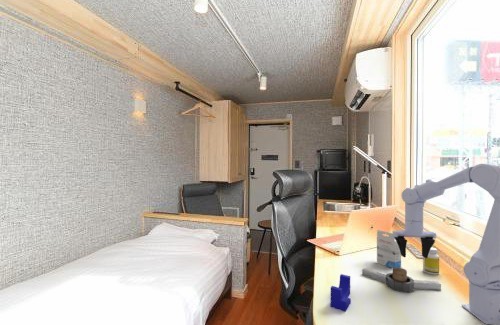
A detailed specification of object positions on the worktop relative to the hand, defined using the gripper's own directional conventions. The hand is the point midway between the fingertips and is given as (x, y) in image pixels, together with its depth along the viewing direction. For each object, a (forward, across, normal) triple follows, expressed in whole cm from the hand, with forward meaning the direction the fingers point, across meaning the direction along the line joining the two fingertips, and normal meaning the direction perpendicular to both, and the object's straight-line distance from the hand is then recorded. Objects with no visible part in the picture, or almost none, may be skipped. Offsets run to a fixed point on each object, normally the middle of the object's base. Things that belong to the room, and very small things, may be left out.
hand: (413, 256), depth 95 cm
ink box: (+10, +2, -16) cm, 19 cm away
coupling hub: (+9, +7, +4) cm, 13 cm away
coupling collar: (+9, +6, +2) cm, 11 cm away
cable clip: (+10, +30, +17) cm, 36 cm away
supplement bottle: (+10, -12, -10) cm, 18 cm away
